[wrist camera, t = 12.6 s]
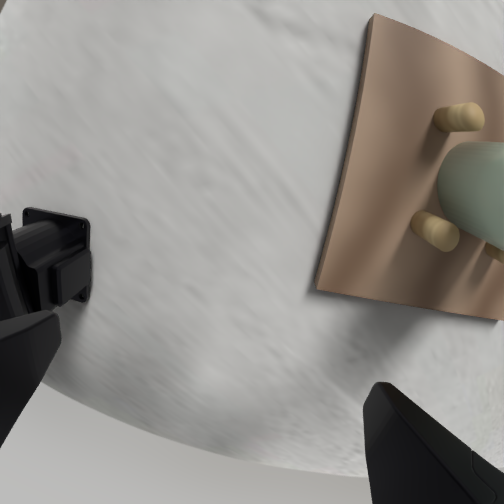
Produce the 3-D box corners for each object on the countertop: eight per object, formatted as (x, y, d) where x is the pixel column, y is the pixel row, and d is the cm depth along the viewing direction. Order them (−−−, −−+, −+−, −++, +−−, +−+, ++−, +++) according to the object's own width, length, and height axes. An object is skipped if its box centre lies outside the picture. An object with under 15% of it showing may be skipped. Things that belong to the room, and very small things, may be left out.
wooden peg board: (314, 281, 21) (325, 316, 16) (369, 19, 15) (393, -10, 11) (501, 315, 21) (531, 341, 16) (550, 117, 15) (587, 118, 11)
